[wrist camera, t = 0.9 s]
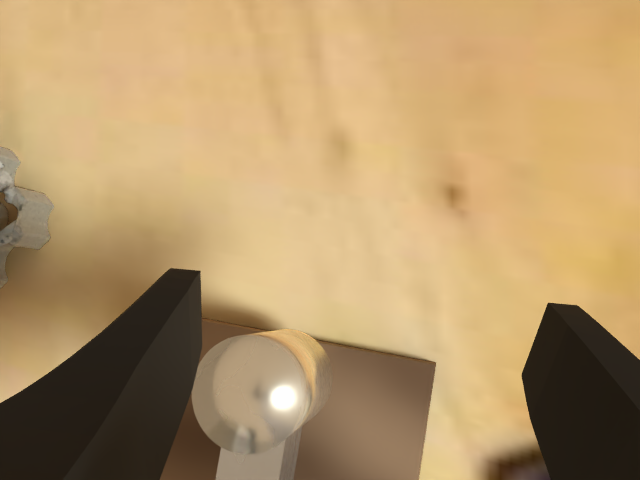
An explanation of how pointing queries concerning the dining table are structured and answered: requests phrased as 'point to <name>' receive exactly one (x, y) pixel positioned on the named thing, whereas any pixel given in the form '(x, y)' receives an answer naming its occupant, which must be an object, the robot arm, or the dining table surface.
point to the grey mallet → (260, 400)
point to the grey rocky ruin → (20, 213)
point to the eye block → (334, 418)
